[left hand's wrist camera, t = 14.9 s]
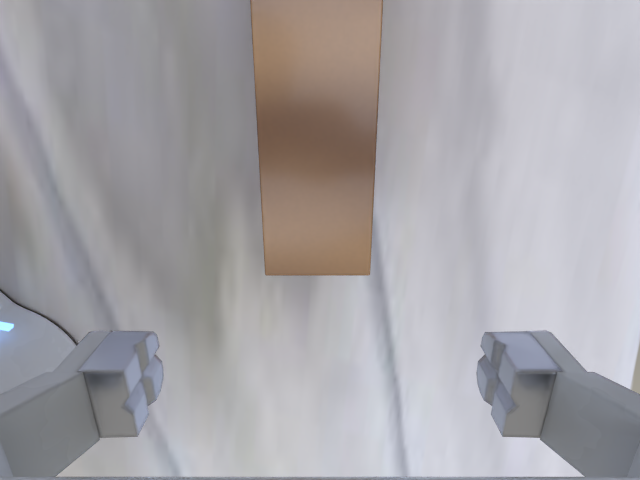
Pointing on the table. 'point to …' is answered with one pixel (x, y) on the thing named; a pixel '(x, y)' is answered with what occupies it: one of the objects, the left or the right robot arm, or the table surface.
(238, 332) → the table surface
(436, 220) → the table surface
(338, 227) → the box
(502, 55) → the table surface
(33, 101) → the table surface
